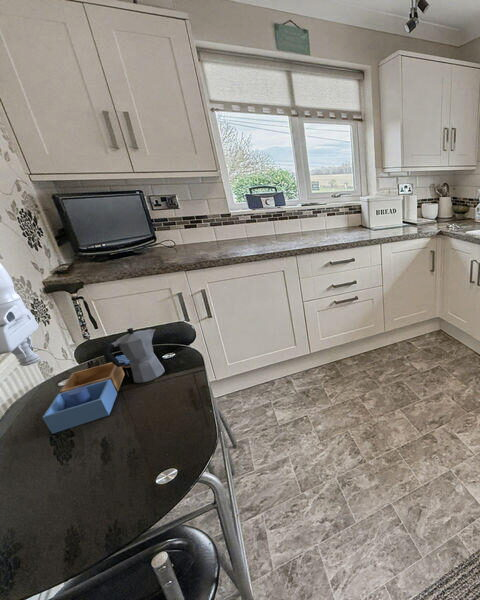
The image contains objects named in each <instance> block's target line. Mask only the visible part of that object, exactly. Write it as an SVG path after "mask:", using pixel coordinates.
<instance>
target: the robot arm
mask: <svg viewBox="0 0 480 600" xmlns="http://www.w3.org/2000/svg"><path fill="white" fill-rule="evenodd" d="M14 285H15V284H14V282H13V280H12V278H11V276H10V274H9V273H8V271H7V270H6V268H5V267H4V265H3V264H2V263H1V262H0V355H4V354H8V353H11V354H13V355H14V356H15V358H16V360H20V359H24V358H26V357H27V353H26V351H23V350H22V349H21V345H20V344H21V343H22V342H23V341H25V340H26V339H28V340H27V344H29V345H28V346H29V348H30V349H31V350H32V351H33V352H34V350H35V348H34V346H33V338H32V336H31V335H33V334H34V333H35V332H37V330H38V329H39V323H38V321H37V320H36V318H35V316H34V315H33V313H32V312H31V310H30V309H28V308H27V306H26V304H25V303H24V301H23V299H22V297H21V296H20V294H19V293H17V292H16V290H15V286H14Z"/></svg>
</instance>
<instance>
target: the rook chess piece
mask: <svg viewBox="0 0 480 600" xmlns="http://www.w3.org/2000/svg"><path fill="white" fill-rule="evenodd" d="M27 340H28V339H26V340H25V341H23V342H22V343H21V344H20V345H21V349H22V350H23V351H26V353H27V357H26V358H24V359H20V360H19V359H17V362H18V363H19V366H21V367H27V366H32V365H34V364H37V363H38V362H40V361H41V357H40V355H39V354H38V353H36V352H34V350H33V351H32V350H31V349H30V348H29V346H28V345H29V344H27Z"/></svg>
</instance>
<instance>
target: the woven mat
mask: <svg viewBox="0 0 480 600" xmlns="http://www.w3.org/2000/svg"><path fill="white" fill-rule="evenodd" d="M114 357H115V358H116V359H118V361H119V363H123V362H125V365H123V366H121V367H122V369H128V368H131V364H130V360H128V359H127V358H126V356H125V355H124V354H121V355H116V356H114Z"/></svg>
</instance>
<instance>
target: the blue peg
mask: <svg viewBox="0 0 480 600" xmlns="http://www.w3.org/2000/svg"><path fill="white" fill-rule="evenodd" d="M67 395H68V397H69V399H70V400H71V402H72V404H73V406H74V407H75V406H78V405H81V404H85V403H88V402H91V401H93V400H92V398H91V396H90V394H89V392H88V390H87V388H86V387H85V386H82V387H78V388H75V389H73V390H71V391H69V392H68V393H67Z"/></svg>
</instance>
